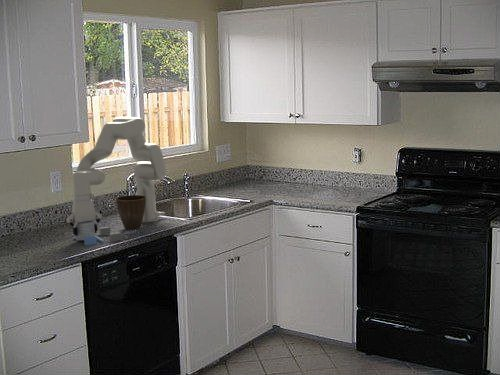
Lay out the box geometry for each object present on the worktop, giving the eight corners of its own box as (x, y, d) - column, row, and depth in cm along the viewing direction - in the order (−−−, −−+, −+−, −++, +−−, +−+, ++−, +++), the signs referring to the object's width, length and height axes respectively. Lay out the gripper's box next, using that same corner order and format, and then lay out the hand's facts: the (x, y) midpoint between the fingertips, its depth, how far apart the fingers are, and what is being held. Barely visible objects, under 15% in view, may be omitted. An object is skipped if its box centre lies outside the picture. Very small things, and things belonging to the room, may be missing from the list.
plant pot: (153, 227, 358) (152, 196, 355) (133, 233, 346) (131, 201, 343) (132, 224, 366) (130, 194, 364) (111, 230, 354) (109, 198, 351)
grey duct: (115, 232, 348) (115, 225, 348) (128, 239, 333) (128, 232, 332) (99, 234, 344) (98, 227, 344) (111, 241, 329) (110, 234, 328)
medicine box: (95, 238, 333) (94, 220, 332) (91, 241, 329) (89, 222, 327) (80, 238, 335) (79, 220, 334) (76, 240, 331) (74, 222, 330)
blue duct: (92, 235, 343) (91, 228, 342) (104, 242, 327) (103, 235, 327) (74, 238, 338) (74, 231, 338) (86, 245, 323) (85, 238, 322)
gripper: (98, 194, 336) (100, 230, 339) (62, 198, 328) (64, 235, 330) (103, 196, 330) (105, 232, 333) (66, 201, 321) (69, 238, 324)
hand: (85, 233), depth 332 cm, fingers closed on medicine box, 8 cm apart
